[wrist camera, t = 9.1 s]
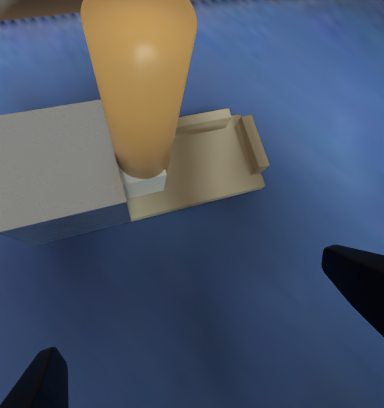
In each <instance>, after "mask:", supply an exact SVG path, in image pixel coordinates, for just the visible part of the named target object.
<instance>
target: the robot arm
mask: <svg viewBox="0 0 384 408" xmlns="http://www.w3.org/2000/svg"><path fill="white" fill-rule="evenodd" d="M321 265H322V269H323V271H324V273H325V274H326V275H327V276H328V278H329V279H330V280H331V281H332V282H333V284H334V285H335V286H336V287H337V289H338V290H339V291H340V292H341V293H342V295H343V296H344V297H345V298H346V299H347V301H348V302H349V303H350V304H351V305H352V306H353V307H354V308H355V309H356V310H357V311H358V312H359V313H360V314H361V315H362V316H363V317H364V318H365V319H366V320H367V321H368V322H369V323H370V324H371V325H372V326H373V327H374V328H375V329H376V330H377V331H378V332H379V333H380V334H381V335H382V336H383V337H384V255H380V254H376V253H371V252H367V251H363V250H358V249H354V248H349V247H345V246H340V245H331V246H328V247H326V248H324V250H323V256H322V264H321ZM0 408H69V407H68V368H67V364H66V361H65V360H64V358H63V357H62V355H61V354H60V353H59V351H58V350H57V348H56V347H50V348H47V349H45V350H42V351H40V352H39V353H38V354H37V356H36V357H35V358H34V360H33V361H32V362H31V364H30V365H29V367H28V368H27V369H26V371H25V372H24V373H23V375H22V376H21V377H20V379H19V380H18V382H17V383H16V384H15V386H14V387H13V388H12V390H11V391H10V392H9V394H8V395H7V397H6V398H5V399H4V401H3V402H2V403H1V405H0Z"/></svg>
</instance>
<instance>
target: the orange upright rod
mask: <svg viewBox="0 0 384 408" xmlns="http://www.w3.org/2000/svg"><path fill="white" fill-rule="evenodd" d="M81 20H82V25H83V29H84V33H85V37H86V41H87V45H88V49H89V53H90V57H91V61H92V65H93V69H94V73H95V77H96V81H97V85H98V89H99V93H100V97H101V101H102V105H103V109H104V113H105V117H106V121H107V125H108V129H109V133H110V138H111V142H112V146H113V150H114V154H115V158H116V162H117V166H118V170H119V174H120V178H121V182H122V186H123V189H124V193H125V197H126V199H130V198H134V197H139V196H143V195H147V194H151V193H155V192H160V191H164V186H165V181H166V176H167V171H168V166H169V161H170V156H171V152H172V147H173V142H174V137H175V132H176V127H177V123H178V118H179V113H180V108H181V103H182V98H183V94H184V89H185V84H186V79H187V74H188V70H189V65H190V60H191V55H192V50H193V45H194V41H195V36H196V31H197V18H196V14H195V10H194V8H193V6H192V4H191V2H190V1H189V0H83V2H82V6H81Z"/></svg>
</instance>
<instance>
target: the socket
mask: <svg viewBox="0 0 384 408" xmlns="http://www.w3.org/2000/svg"><path fill="white" fill-rule="evenodd" d="M129 222H131V217H130V213H129V209H128V205H127V201H126V197H125V193H124V189H123V186H122V182H121V178H120V174H119V170H118V166H117V162H116V158H115V154H114V150H113V146H112V142H111V138H110V134H109V130H108V126H107V122H106V118H105V114H104V110H103V106H102V102H101V99H100V100H94V101H87V102H81V103H75V104H69V105H62V106H56V107H50V108H43V109H37V110H31V111H25V112H18V113H12V114H6V115H0V234H1V235H4V236H7V237H11V238H14V239H18V240H21V241H24V242H28V243H31V244H34V245H42V244H46V243H50V242H54V241H58V240H62V239H66V238H70V237H74V236H78V235H82V234H85V233H89V232H93V231H97V230H101V229H105V228H109V227H113V226H117V225H121V224H125V223H129Z"/></svg>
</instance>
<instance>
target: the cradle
mask: <svg viewBox="0 0 384 408" xmlns="http://www.w3.org/2000/svg"><path fill="white" fill-rule="evenodd" d="M268 166H270V164H269V162H268V159H267V156H266V153H265V151H264V148H263V145H262V142H261V140H260V137H259V134H258V131H257V129H256V126H255V123H254V120H253V118H252V115H246V116H240V114H239V115H233V116H231V113H230V110H229V108H227V109H222V110H216V111H211V112H205V113H200V114H194V115H189V116H183V117H179V118H178V123H177V127H176V132H175V137H174V142H173V147H172V152H171V156H170V161H169V166H168V171H167V176H166V181H165V186H164V191H160V192H155V193H151V194H147V195H143V196H139V197H134V198H130V199H126V201H127V205H128V209H129V213H130V217H131V222H133V221H137V220H141V219H145V218H149V217H152V216H156V215H160V214H164V213H168V212H172V211H176V210H180V209H184V208H188V207H192V206H196V205H200V204H204V203H208V202H212V201H216V200H220V199H223V198H227V197H231V196H235V195H239V194H243V193H247V192H251V191H255V190H259V189H262V188H263V187H264V186H265V183H264V180H263V178H262V175H261V173H262V172H263V171H264V170H265V169H266V168H267V167H268Z"/></svg>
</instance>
